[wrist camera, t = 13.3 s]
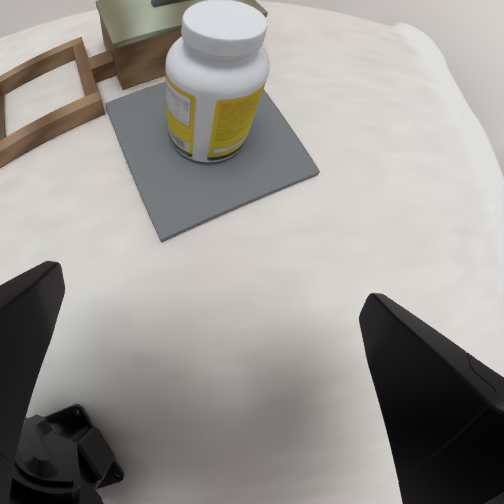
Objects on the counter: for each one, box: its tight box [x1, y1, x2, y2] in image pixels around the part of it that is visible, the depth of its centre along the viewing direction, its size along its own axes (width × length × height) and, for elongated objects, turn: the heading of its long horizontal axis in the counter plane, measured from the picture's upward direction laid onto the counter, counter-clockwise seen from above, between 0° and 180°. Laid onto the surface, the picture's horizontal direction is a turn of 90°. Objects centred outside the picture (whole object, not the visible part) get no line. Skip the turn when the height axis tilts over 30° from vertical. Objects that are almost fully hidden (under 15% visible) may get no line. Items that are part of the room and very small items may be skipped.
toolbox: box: [0, 0, 268, 168], centre depth 22 cm, size 28×11×7 cm, turn 119°
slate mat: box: [105, 82, 320, 242], centre depth 25 cm, size 14×14×1 cm
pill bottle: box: [166, 0, 270, 162], centre depth 19 cm, size 6×6×12 cm
